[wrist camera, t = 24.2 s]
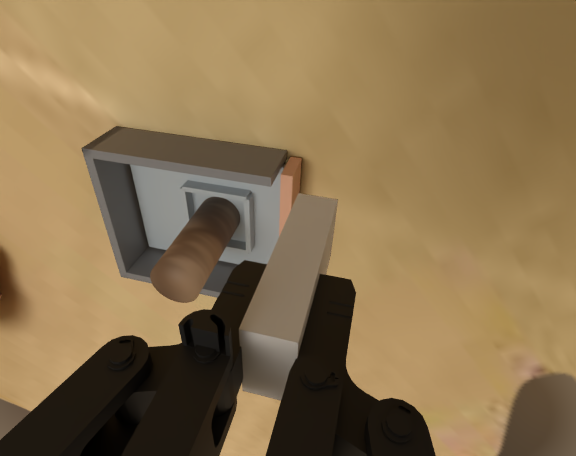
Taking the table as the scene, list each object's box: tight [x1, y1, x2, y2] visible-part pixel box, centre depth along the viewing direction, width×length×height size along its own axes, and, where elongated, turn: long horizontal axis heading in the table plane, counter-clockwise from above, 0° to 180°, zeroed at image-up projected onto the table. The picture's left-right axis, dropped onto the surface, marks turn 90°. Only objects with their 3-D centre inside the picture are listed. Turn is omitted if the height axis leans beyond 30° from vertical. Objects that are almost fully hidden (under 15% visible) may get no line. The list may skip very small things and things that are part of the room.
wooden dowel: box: [150, 197, 240, 303], centre depth 42 cm, size 5×5×12 cm
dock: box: [82, 126, 287, 298], centre depth 46 cm, size 20×18×6 cm
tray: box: [130, 157, 302, 264], centre depth 46 cm, size 20×17×4 cm
